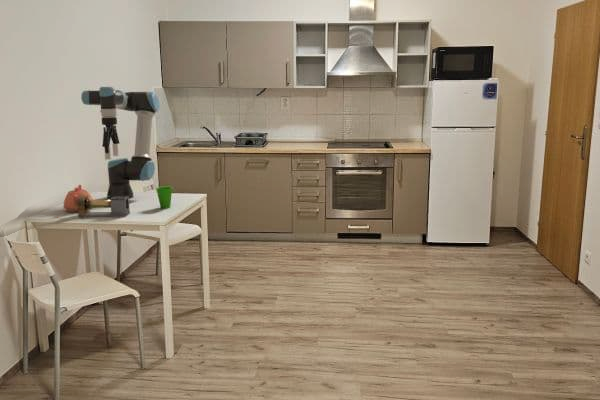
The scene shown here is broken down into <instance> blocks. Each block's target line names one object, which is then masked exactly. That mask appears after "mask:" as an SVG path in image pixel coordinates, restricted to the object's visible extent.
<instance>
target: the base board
mask: <svg viewBox="0 0 600 400" xmlns="http://www.w3.org/2000/svg"><path fill="white" fill-rule="evenodd" d="M127 216H129V215H128V214H127V215H111V211H90V212H89V213H88V214H86V215H85V217H83V216H82V217H81V218H111V217H112V218H122V217H123V218H124V217H125V218H126V217H127Z"/></svg>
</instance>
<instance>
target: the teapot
mask: <svg viewBox="0 0 600 400" xmlns="http://www.w3.org/2000/svg"><path fill="white" fill-rule="evenodd" d="M73 189H74V190H69V191H68V192H67V194H66V195H65V198H64V201H63V209H64V210H66V211H67V212H72V213H75V212H77V213H78V205H77V198H78V197H80V196H82V195H88V197H89V200H94V199H93V197H92V196H91V194H90V193H89V191H88V190H87V189H83V188H82V185H81V184H78V186H76V187H73ZM89 209H90V210H91V209H92V208H89Z"/></svg>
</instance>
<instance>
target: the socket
mask: <svg viewBox="0 0 600 400" xmlns="http://www.w3.org/2000/svg"><path fill="white" fill-rule="evenodd" d="M87 199H89V197H88V195H82V196H80V197H78V198H77V205H78V212H77V214H78V218H86V217H85V215H86V214H88V213H89V212H91V209H86V208H85V206H84V200H87ZM82 216H83V217H82Z"/></svg>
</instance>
